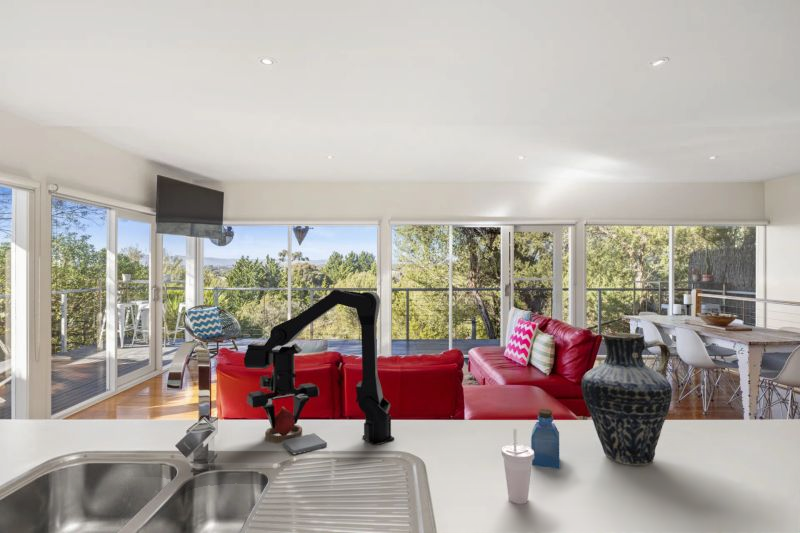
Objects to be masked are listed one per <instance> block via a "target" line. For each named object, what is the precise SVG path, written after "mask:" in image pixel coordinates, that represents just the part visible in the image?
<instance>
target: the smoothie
mask: <svg viewBox="0 0 800 533" xmlns="http://www.w3.org/2000/svg"><path fill="white" fill-rule="evenodd" d="M501 456H502V457H503V464H504V465H503V466H504V472H505V473H504V474H505V480H506V490H507V496H508V500H509V501H510V502H511V503H514V504H519V505H523V504H526V503H527V502H528V501H529V500H528V499H529V491H530V483H531V475H532V469H533V468H532V467H533V465H532V460H533V459H534V451H533V450H532V449H531V447H530V446H526V445H522V444H517V428H516V427H514V428H513V444H507V445H504V446H502V448H501Z"/></svg>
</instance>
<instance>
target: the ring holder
mask: <svg viewBox="0 0 800 533" xmlns="http://www.w3.org/2000/svg"><path fill="white" fill-rule="evenodd" d="M290 432H294V433H290V434H287V435H283V436H281V435H276V433H278V432H277V431H276V430H275V429H273V428H272V427H271V426H270V427H269V428H267V429H266V430H265V434H264V435H265V437H264V438H266V439H265V440H266V441H267V442H270V443H275V444H281V443H282V441H283V440H287V439H291V438H296V437H300V436H303V427H302V426H300V425H299V424H295V426H294V428H293V429H292V430H291V431H290Z"/></svg>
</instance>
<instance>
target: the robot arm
mask: <svg viewBox="0 0 800 533" xmlns="http://www.w3.org/2000/svg"><path fill="white" fill-rule="evenodd" d="M380 304H381V298H380V296H379V295H378V294H377V293H376V292H374V291H372V290H371V291H370V290H369V291H364V292H358V291H351V290H345V289H342V288H336V289H333V290H331V291H330V293H328V294H327V295H326V296H324V297H323V298H321V299H320V300H318V301H317V302H316V303H314V304H312V305H311V306H310V307H308V308H306V309H305V310H304V311H302V312H301V313H300V314H298V315H297V316H295V317H293V318H290V319H288V320H285V321H284V322H281V323H279V324H277V325H275V326H274V327H272V328H271V330H270V336H269V338H268V339H267V340H266V342H265V343H264V344H263V343H262V344H260V343H259V344H257V343H249V344H248V345H247V349H246V351H245V354H244V357H243V365H244V367H245V368H246V369H249V370H250V369H251V370H253V369H255V370H258V369H259V370H260V369H261V370H262V369H263V370H264V369H265V370H268V369H269V368H270V367H271V366H272V371H271V377H270V376H269V375H261V376H260V378H259V384H260V388H261V389H265V388H266V390H267V391H268V392H267V393H266V392H264V391H263V390H257V391H252V392H251V391H250V392H248V394H247V396H246V404H248V405H249V406H251V407H252V408H254V409H255V408H256V409H257V408H261V409H263V410H264V411H265V413H266V416H267V418H268V421H269V424H270V428H271V427H272V428H273V429H274V426H275V416H276V412H275V410H276V408H275V405H274V403H273V401H274V400H275V401H276V400H278V399H279V400H281V399H286V398H287V399H288V398H291V397H292V399H293V413H292V415H293V417H294V419H295V425H297V423H298V420H299V418H300V415H301V414H302V412H303V409H304V407H305V406H306V404H307V402H310V401H311V399H312V398H316V397H319V396H320V389H319V387H318V385H316V384H314V383H312V382H309V383H302V384H298V386H297V387H298V388H296V387H295V378H296V377H297V373H296V372H295V354H296V355H298V354H300V353H302V351H303V349H302V348H301V347H300V346H298V344H297V343H294V344H292V345H291V346H286V345H288V344H289V343H292V342H293V341H294V340H296V339H297V338H298V337H299V336H300V335H301V334H302V333H303V331H304V330H305V329H306V328H307V327H308V326H310V325H311V324H312V323H314V322H315V321H317V320H318V319H320V318H321V317H322V316H324V315H325V314H326V313H328V312H329V311H331V310H332V309H334V308H335V307H336V306H338V305H340V306H345V307H348V308H351V309H352V308H353V309H355V311H356V314H357V318H358V321H359V324H360V327H361V328H360V329H361V333H360V334H361V366H362V367H361V369H362V370H361V371H362V374H361V375H362V380H361V381H358V383H357V384H356V386H355V393H356V399H355V403H357V404H358V408H359V410H360V411H362V413H364V415H365V416H364V417H365V421H364V423H363V435H362V438H363V440H365V441H367V442H369V443H370V444H372V445H379V444H383V443H387V442H391V441H394V440H395V437H394V436H392V415H391V414H389V411H390V407H391V403H390V402H389V401H388V400H387V399H386V398H385V397H384V396H383V395H384V394H383V389H382V385H381V382H380V379H379V375H378V349H377V346H378V345H377V323H378V319H379V318H378V317H379V314H380V313H379V312H380V306H381V305H380ZM277 347H280V348H279V349H276V348H277Z"/></svg>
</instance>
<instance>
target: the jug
mask: <svg viewBox="0 0 800 533" xmlns="http://www.w3.org/2000/svg"><path fill="white" fill-rule="evenodd" d="M602 335H603V339H604V344H605V347H606V357H605V359H604V361H603V362H602V363H600V364H599V365H597V366H595V367H592V368H590V370H588V371H586V372H585V373H584V375H583V376H582V378H581V392H582V397H583V401H584V403H585V405H586V408H587V410H588V412H589V415H590V418H591V420H592V421H593V426H594V429H595V431H596V434H597V437H598V439H599V442H600V445H601V446H602V450H603V453H604V454H605V455H606V456H607V458H609V459H610V460H613V461H615V462H619V463H621V464H624V465H630V466H647V465H649V464H651V463H653V462H654V460H655V456H656V447H657V445H658V442H659V440H660V437H661V432H662V429H663V426H664V424H665V422H666V418H667V417H668V414H669V412H670V407H671V403H672V398H673V395H672V394H673V388H672V385H671V383H670V381H669V380H668V379H667V377H666V370H667V367H668V364H669V360H670V358H671V350H670V348H669V346H668V345H667V343H665V342H662V341H660V340H658V339H653V340H650V341H647V340H644V338H645V334H643V333H638V332H634V333H633V332H632V333H631V332H614V331H613V332H610V333H607V332H606V333H605V332H603V334H602ZM653 347H659V348H660V359H659V363H658V367H657V368H656V370H654V369H653V368H651V367H650V366H648V365H646V363H645V361H644V358H643V351H644V350H647V349H650V348H653Z"/></svg>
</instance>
